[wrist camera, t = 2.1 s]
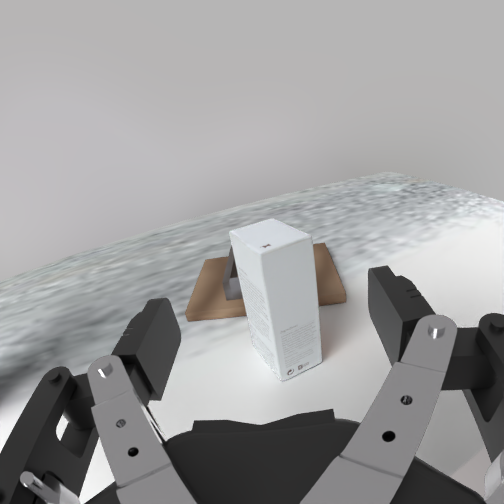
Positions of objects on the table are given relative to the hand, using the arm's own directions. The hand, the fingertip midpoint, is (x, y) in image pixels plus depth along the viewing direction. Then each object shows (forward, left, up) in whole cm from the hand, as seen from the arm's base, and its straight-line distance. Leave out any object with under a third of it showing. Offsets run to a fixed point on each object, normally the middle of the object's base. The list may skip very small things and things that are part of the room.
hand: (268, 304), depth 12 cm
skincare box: (0, +11, -13) cm, 18 cm away
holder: (-2, +25, -13) cm, 29 cm away
